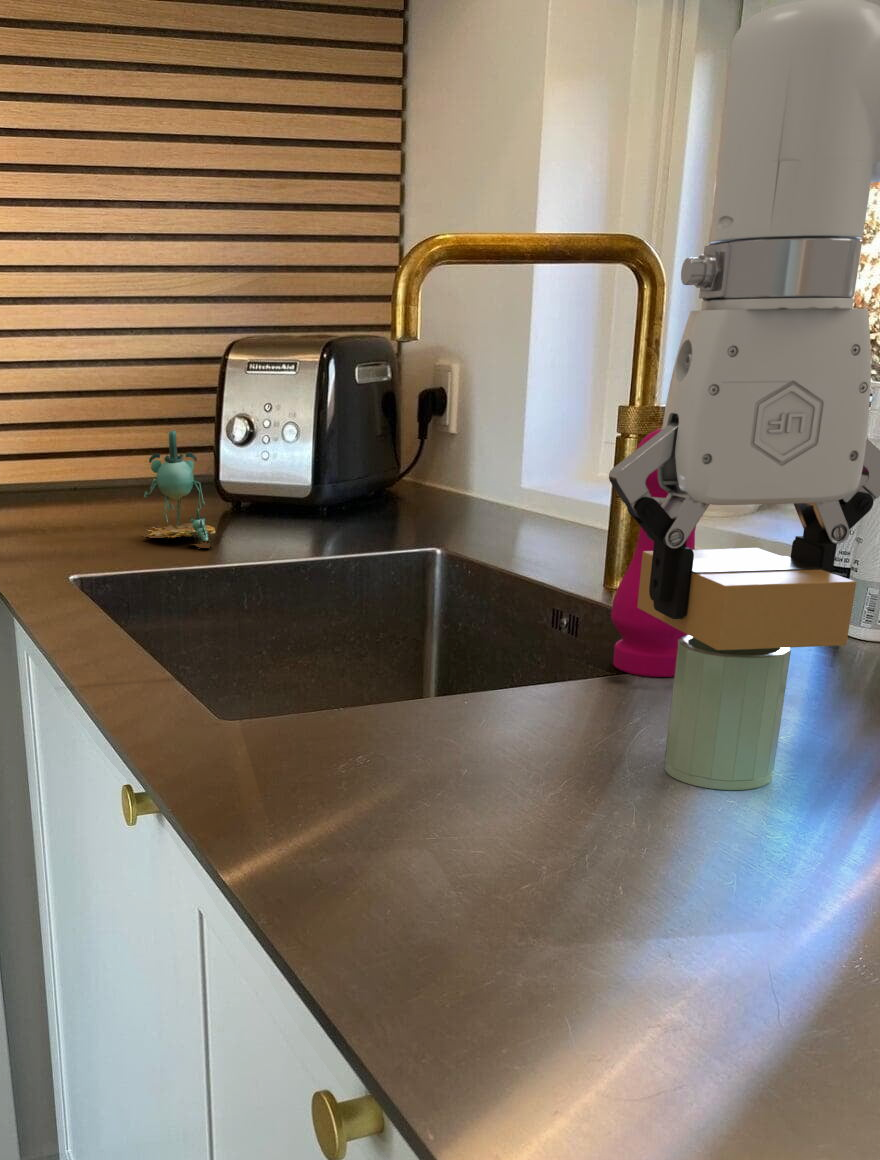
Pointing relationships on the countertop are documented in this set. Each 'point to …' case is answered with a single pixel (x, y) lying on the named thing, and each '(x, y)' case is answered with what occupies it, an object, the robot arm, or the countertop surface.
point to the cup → (725, 715)
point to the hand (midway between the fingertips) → (736, 609)
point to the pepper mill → (643, 634)
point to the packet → (758, 601)
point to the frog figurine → (177, 491)
